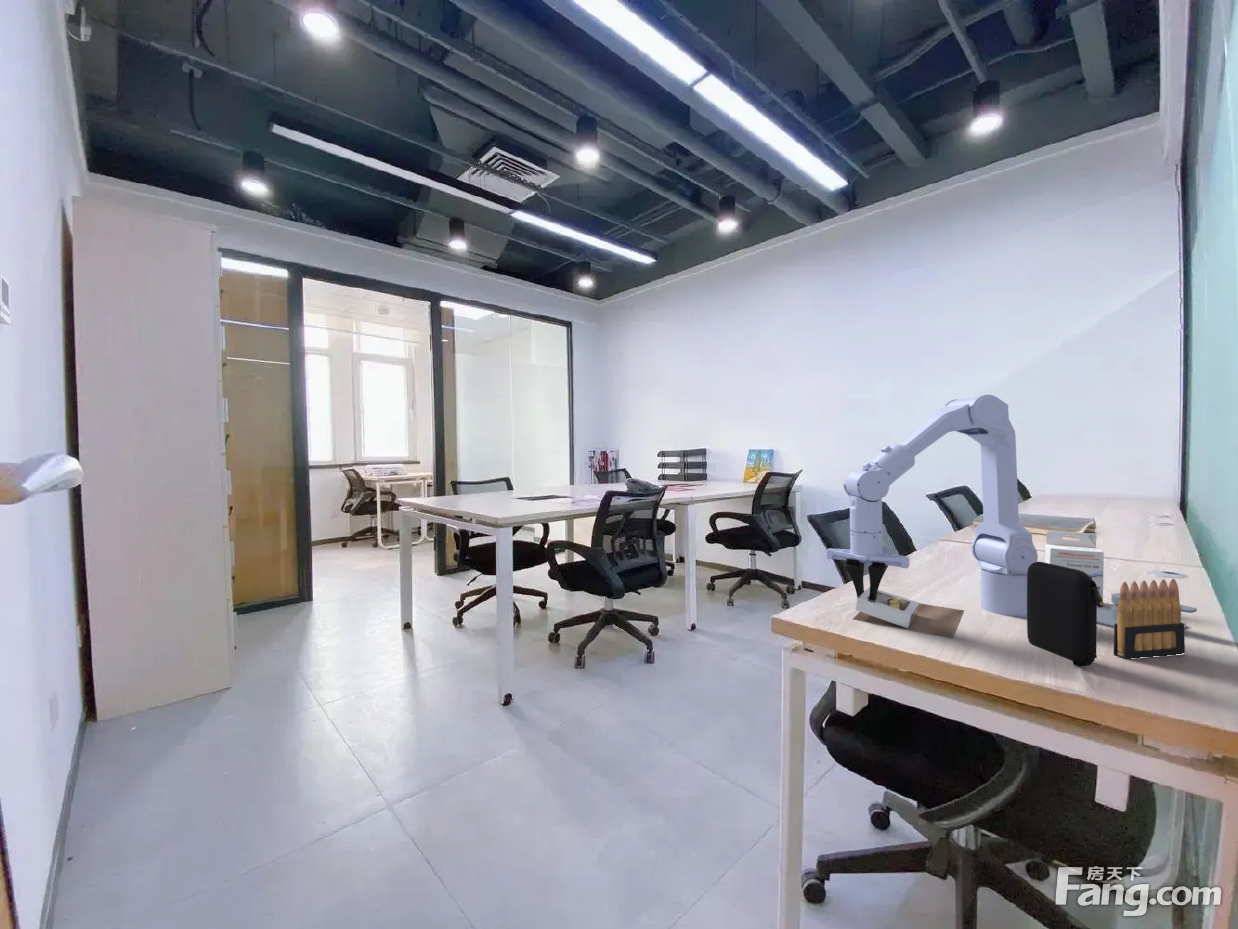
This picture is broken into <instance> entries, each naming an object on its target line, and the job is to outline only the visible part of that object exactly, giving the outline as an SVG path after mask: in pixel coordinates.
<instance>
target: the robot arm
mask: <svg viewBox="0 0 1238 929" xmlns="http://www.w3.org/2000/svg"><path fill="white" fill-rule="evenodd" d="M950 432H956V433H959V434H964V435H967V436H968V437H969V438H970V439H973V440H974V441H976V442H977V443H978V444H980V462H981V464H980V465H981V487H982V488H981V489H982V490H981V491H982V512H983V513H982V514H983V515H982V517H983V518H982V519H983V521H982V522H981V523H980V524H978V525H977V526H976V527H975V529H974V531H975V532H974V538H973V541H972V542H971V547H970V549H971V553H972V556H973V558H974V559H975V560H977V561H978V567H980V608H981V609H982V610H984V611H986V612H988V613H989V612H990V613H992V614H996V615H1002V616H1011V617H1020V618H1025V619H1027V572H1028V568H1029V566H1030V565H1031V564H1032V563H1034V562H1038V560H1039V559H1038V558H1039V556H1038V551H1037V549H1036V546H1035V545H1034V542H1033V534H1032V533H1031V532H1030V531H1029V530H1028V529H1026V528H1025V526H1024V525H1023V524H1021V522H1020V521H1019V518H1020V517H1019V494H1018V492H1019V491H1018V470H1017V469H1018V468H1017V466H1018V465H1017V442H1016V441H1017V439H1016V436H1017V435H1016V430H1015V429H1014V427H1013V424H1012V423H1011V420H1010V418H1009V404H1008V403H1006V401H1005V402H1004V401H1003V399H1000V398H999V397H998V396H995V395H992V394H984V395H979V396H974V397H969V398H961V399H958V398H956V399H951V400H949V401H946V403H944V405H943V406H941V407H939V408H937V409H936V410H935V411H934V413H933V414H932V416H930V417H929V418H928V419H927V420H926V421H925V422H924V423H923V424H922V425H921V426H920V427H918V428H917V429H916V430H915V431H914V432H913V433H912V434H910V436H909V437H908V438H907V439H905V440H904V441H903V442H902V443H901V444H898V443H897V444H896V443H895V444H890V445H884V446H883V447H881V449H880V453H879V454H878V455H877V456H875V457H874V458H873V459H872V460H871V461H869V462H865V463H863V464H862V470H859V469H858V470H855V471H853V472H851V473H850V474H848V476H847V478H846V480H845V483H844V484H843V486H842V487H843V490H844V492H845V493H846V494H847V496H848V498H849V544H850V546H849V547H850V548H849V549H848V548H847V549H846V548H845V549H844V548H832V547H831V548H828V549H826V559H827V560H833V559H834V560H840V561H845V562H846V563H845V565H844V567H845V569H846V571H847V572H848V573H847V574H849V576H850V579H851V581H852V583H853V586H854V589H855V593H856V598H857V599H858V597H859V596H860V595H861V594H862V593H863V592H865V584H864V572H865V563H866V564H870V565H868V567H867V568H868V577H869V587H870V600H873V601H875V600H876V597H877V591H878V590H879V587H880V585H881V582H882V580H883V577H884V574H886V571H887V569H888V567H889V566H890V567H898V568H901V569H905V570H906V569H908V568H909V567H910V556H905V555H900V554H895V553H894V554H893V553H888V552H884V551H883V548H884V547H883V546H884V545H883V544H884V543H883V498H885V497H887V495H888V493H889V490H890V486H891V485H892V484H894V483H895V482H896V481H897V480H898V479H900V478H901V477H902V476H903V475H904V474H905V473H907V472H908V471H909V470H910V469H912V468H913V467H914V466H915V463H916V460H915V459H916V456H918V455H919V454H920V453H922V452H923V451H924V450H926V449H927V448H929V447H930V446H931V445H933V444H935V442H937V441H938V440H940V439H941V438H942V437H944V436H945V435H946V434H948V433H950ZM857 599H856V600H857Z"/></svg>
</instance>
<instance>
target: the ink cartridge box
mask: <svg viewBox="0 0 1238 929" xmlns="http://www.w3.org/2000/svg"><path fill="white" fill-rule="evenodd" d="M1045 537H1046V539H1045V540H1046V543H1045V544H1044V562H1045V563H1049V564H1054V565H1058V566H1063V567H1068V568H1072V569H1077V570H1081V571H1083V572H1085V573H1086V574H1088V575H1089V576H1090V577H1091V578H1092V580H1093V581H1094V582H1095V583H1096V586H1097V587H1098V588H1099V591H1100V595H1101V597H1102V600H1103V601H1104V570H1105V569H1104V568H1105V567H1104V563H1105V562H1104V559H1105V558H1104V556H1105V555H1104V551H1103V550H1101V549H1100V548H1098V547H1097V534H1096V533H1093V532H1091V533H1089V532H1074V531H1057V530H1056V531H1055V530H1054V531H1053V530H1048V531H1046V536H1045ZM1069 537H1073V538H1074V540H1072V539H1063V538H1069ZM1075 538H1078V539H1079V540H1075Z"/></svg>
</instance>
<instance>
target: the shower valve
mask: <svg viewBox="0 0 1238 929" xmlns="http://www.w3.org/2000/svg"><path fill="white" fill-rule="evenodd" d="M1119 597H1120V592H1119V593H1112V594H1111V596H1110V599H1111V600H1110V602H1111V604H1113V605H1112V606H1107V605H1103V607H1101V608H1099V607H1098V606H1097V625H1098V626H1103V627H1106V628H1111V629H1114V624H1115V623H1117V609H1118V605H1119ZM1180 605H1181V613H1182V612H1183V613H1189V614H1192V613H1193V614H1194V613H1196V612H1197V610H1198V609H1197V608H1198V607H1197V608H1196V607H1193V606H1188V605H1183V604H1180ZM1181 623H1184V626H1186V627H1187V624H1186V623H1185V622H1182V621H1181Z"/></svg>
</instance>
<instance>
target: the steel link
mask: <svg viewBox="0 0 1238 929" xmlns="http://www.w3.org/2000/svg"><path fill="white" fill-rule="evenodd" d="M892 597H893V598H896V599H897V600H898V601H899V609H897V608H894V607H891V606H888V605H887V601H888V599H889V598H892ZM856 600H857V601H856V605H855V610H856V611H857V612H863V613H866V614H869V615H871V616H874V617H877V618H880V619H883V620H885V621H888V622H891V623H894V624H897V625H899V626H902V627H905V628H909V626H910V625H911V623H912V622H913V620H914V619H915V617H916V616H917V612H918V608H919V604H920V602H918V601H915V600H913V599H909V598H906V597H903V596H899V595H896V594H893V593H890V592H888V591H884V590H880V589H878V591H877V597H876V600H875V601H873V600H870V586H869V587H868V588H867V589H866V590H864V592H863V593H862V594H861V595H860V596H859V597H858V599H856Z"/></svg>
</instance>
